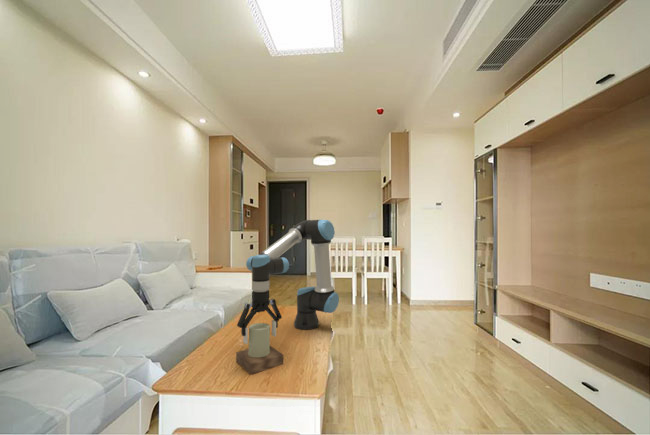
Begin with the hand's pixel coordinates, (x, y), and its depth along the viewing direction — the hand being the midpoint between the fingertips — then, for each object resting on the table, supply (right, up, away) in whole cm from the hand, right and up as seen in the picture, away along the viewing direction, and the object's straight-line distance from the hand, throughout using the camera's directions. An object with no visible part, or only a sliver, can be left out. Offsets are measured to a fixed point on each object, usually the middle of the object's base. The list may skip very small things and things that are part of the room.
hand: (260, 339), depth 122 cm
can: (0, -6, -1) cm, 6 cm away
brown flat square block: (0, -10, -1) cm, 10 cm away
